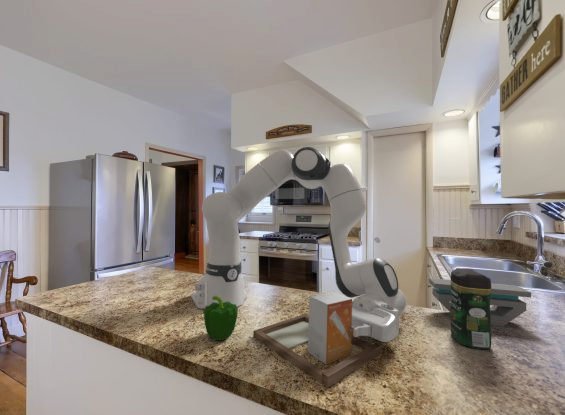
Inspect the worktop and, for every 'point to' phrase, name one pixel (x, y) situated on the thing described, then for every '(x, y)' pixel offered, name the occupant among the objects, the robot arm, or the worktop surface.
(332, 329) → the small box
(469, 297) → the coffee jar
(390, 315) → the robot arm
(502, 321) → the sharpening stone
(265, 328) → the brown wooden frame
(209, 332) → the bell pepper
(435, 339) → the worktop surface
